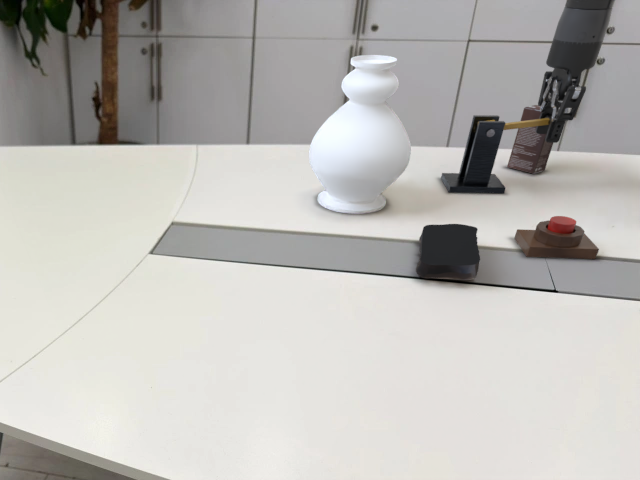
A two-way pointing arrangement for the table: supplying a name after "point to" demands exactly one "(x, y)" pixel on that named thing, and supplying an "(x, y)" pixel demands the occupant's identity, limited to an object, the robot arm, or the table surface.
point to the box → (530, 145)
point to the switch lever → (528, 122)
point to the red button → (561, 224)
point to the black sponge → (448, 252)
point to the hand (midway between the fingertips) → (546, 137)
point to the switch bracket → (478, 159)
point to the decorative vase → (361, 140)
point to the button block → (555, 243)
